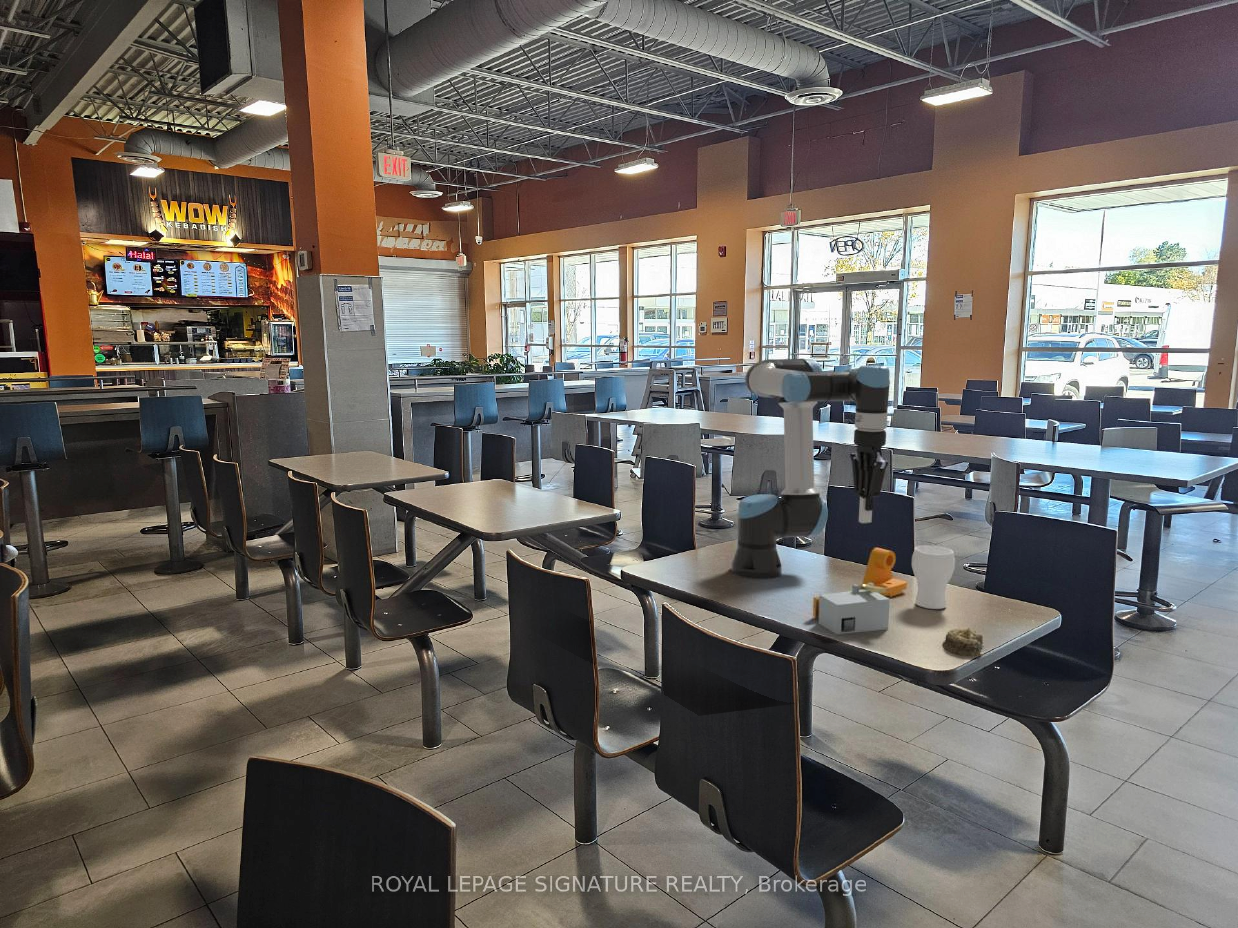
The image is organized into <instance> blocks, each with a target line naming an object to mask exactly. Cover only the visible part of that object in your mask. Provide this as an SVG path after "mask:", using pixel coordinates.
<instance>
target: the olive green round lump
mask: <svg viewBox="0 0 1238 928" xmlns="http://www.w3.org/2000/svg"><path fill="white" fill-rule="evenodd" d="M983 637H984V636H983V634H981V633H980V632H977V631H976V630H972V629H970V628H967V629H965V628H963V629H961V628H956V629H951V630H950V631H947V633H946V634H945V637H944V641H943V642H942V647H943V648H944V649H945V650H946V651H948V652H950V653H953V654H956V655H958V656H959V655H961V656H964V657H969V656H981V657H980V658H982V657H983V656H982V655H983V653H981V652H982V647H984V648H985V646H984V642H983V641H984V640H983Z"/></svg>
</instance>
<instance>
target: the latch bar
mask: <svg viewBox="0 0 1238 928" xmlns="http://www.w3.org/2000/svg"><path fill="white" fill-rule="evenodd" d="M857 585H858V586H859V590H866V591H871V592H875V593H884V592H887V588H882V587H877V586H873V585H870V584H863V583H862V584H857Z"/></svg>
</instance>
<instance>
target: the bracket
mask: <svg viewBox="0 0 1238 928" xmlns="http://www.w3.org/2000/svg"><path fill="white" fill-rule="evenodd" d="M869 554H870V555H869V559H868V563H867V565H866V568H865V569H866V570H865V572H864V575H863V581H862V584H868V583H873V584H874V586H877V587H882V588H887V592H884V593H879V594H881V595H883V596H885V597H887V598H892V597H894V596H895V597H896V596H897V595H900V594H903V591H905V590H907V581H904V580H902V579H898V578H894V577H893V574H892V569H893V568H894V566H895V564H896V559H897V557H896V553H895V552H894V551H893V550H888V549H885V548H880V547H874V548H873V549H872V550H871V551H870V553H869Z"/></svg>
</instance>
